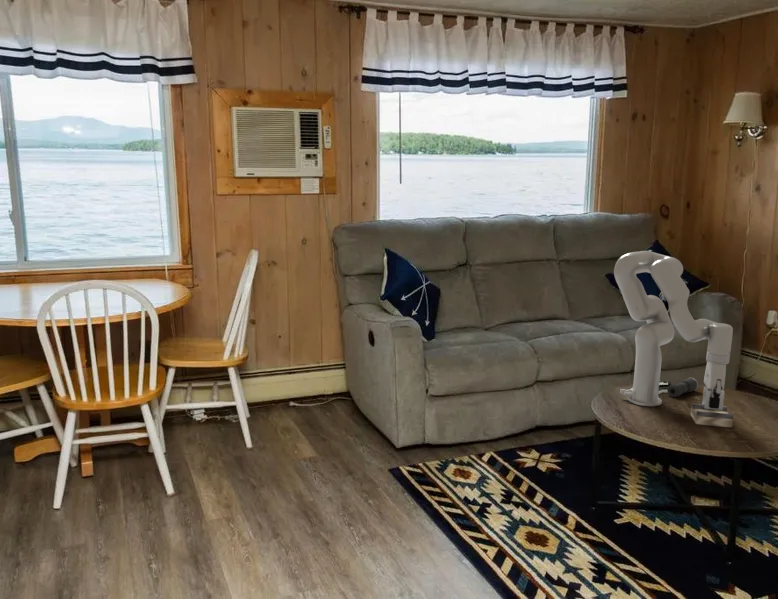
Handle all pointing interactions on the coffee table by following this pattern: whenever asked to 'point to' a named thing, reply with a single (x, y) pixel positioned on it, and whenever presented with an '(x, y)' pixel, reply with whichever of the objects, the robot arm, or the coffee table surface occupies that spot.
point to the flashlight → (682, 387)
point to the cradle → (711, 416)
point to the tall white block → (707, 399)
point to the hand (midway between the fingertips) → (712, 405)
